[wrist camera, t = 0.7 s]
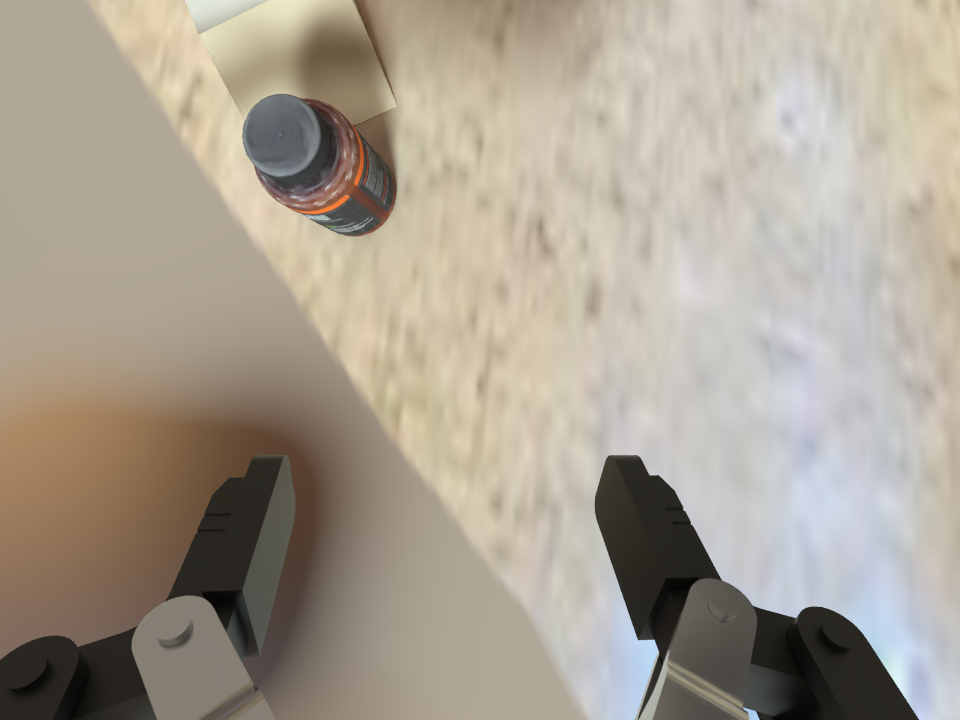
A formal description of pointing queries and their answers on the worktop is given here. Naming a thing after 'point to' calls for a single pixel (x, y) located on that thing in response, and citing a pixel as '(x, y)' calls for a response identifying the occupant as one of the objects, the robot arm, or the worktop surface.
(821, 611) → the robot arm
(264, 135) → the supplement bottle
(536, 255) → the worktop surface
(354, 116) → the ramp bench
